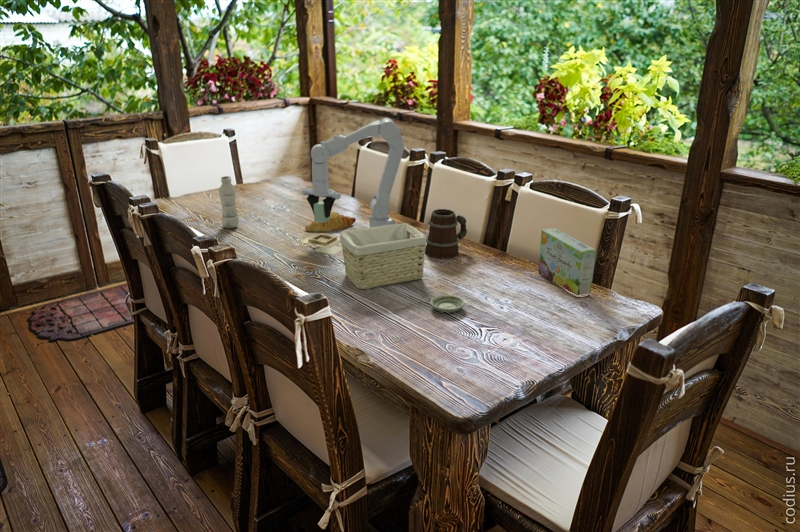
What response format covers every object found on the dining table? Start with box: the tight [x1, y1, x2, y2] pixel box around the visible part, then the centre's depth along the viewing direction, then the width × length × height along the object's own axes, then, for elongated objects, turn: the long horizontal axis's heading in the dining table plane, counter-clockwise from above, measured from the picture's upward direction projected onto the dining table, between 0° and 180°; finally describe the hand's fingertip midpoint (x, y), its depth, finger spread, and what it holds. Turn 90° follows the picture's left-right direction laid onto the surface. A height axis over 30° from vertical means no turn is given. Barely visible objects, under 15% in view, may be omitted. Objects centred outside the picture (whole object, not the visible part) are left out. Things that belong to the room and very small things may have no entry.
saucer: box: [430, 294, 466, 313], centre depth 170 cm, size 10×10×2 cm
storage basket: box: [339, 222, 427, 290], centre depth 189 cm, size 24×16×15 cm
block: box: [313, 200, 330, 223], centre depth 217 cm, size 4×4×6 cm
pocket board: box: [298, 232, 341, 248], centre depth 221 cm, size 14×11×2 cm
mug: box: [425, 208, 468, 260], centre depth 210 cm, size 16×12×15 cm
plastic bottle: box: [218, 176, 240, 229], centre depth 232 cm, size 6×7×20 cm
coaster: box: [314, 245, 343, 256], centre depth 213 cm, size 8×8×1 cm
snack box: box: [538, 227, 597, 295], centre depth 184 cm, size 21×6×15 cm, turn 21°
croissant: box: [304, 211, 357, 233], centre depth 235 cm, size 21×10×8 cm, turn 120°
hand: (322, 216), depth 218 cm, fingers closed on block, 4 cm apart
